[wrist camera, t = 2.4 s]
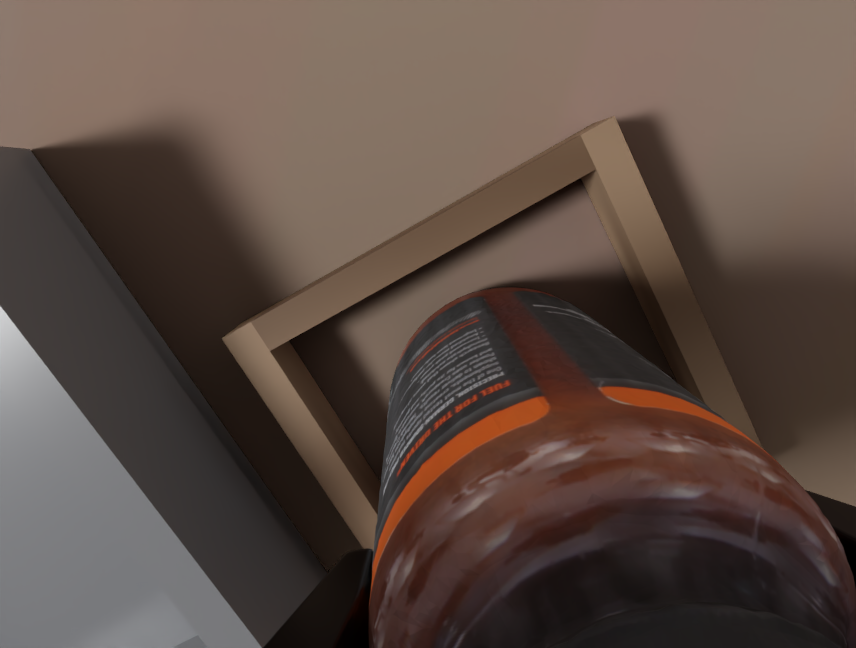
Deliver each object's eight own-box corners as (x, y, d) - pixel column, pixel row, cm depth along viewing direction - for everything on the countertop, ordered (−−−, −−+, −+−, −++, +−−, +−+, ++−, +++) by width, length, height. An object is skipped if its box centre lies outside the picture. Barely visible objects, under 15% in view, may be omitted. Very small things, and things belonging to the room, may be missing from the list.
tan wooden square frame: (745, 456, 16) (779, 484, 14) (430, 608, 17) (431, 649, 15) (593, 123, 13) (614, 116, 12) (241, 323, 14) (221, 338, 13)
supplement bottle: (363, 458, 15) (227, 1144, 4) (430, 251, 14) (470, 489, 3) (566, 515, 16) (897, 1257, 5) (649, 321, 15) (1358, 741, 4)
